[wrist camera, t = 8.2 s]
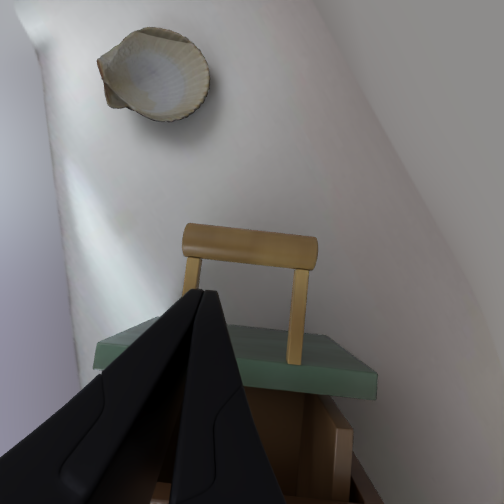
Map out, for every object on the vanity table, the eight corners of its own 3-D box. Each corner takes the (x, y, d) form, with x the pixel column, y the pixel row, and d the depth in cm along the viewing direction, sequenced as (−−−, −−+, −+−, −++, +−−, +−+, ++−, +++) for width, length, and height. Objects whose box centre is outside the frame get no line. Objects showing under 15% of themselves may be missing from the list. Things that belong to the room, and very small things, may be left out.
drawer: (167, 238, 19) (110, 210, 11) (333, 257, 19) (394, 242, 11) (126, 519, 17) (22, 728, 9) (311, 539, 17) (365, 765, 9)
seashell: (215, 131, 23) (200, 34, 22) (218, 118, 20) (201, 4, 19) (117, 139, 21) (95, 34, 20) (105, 126, 18) (78, 1, 17)
